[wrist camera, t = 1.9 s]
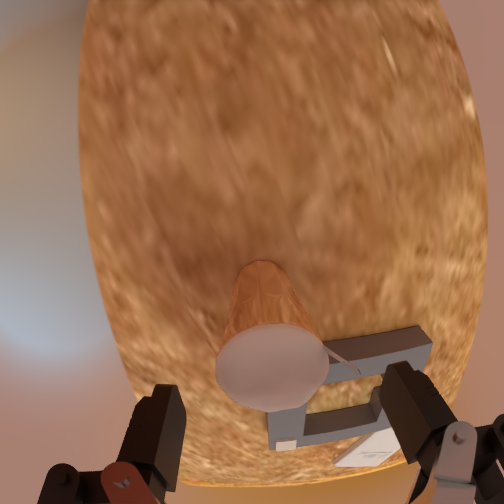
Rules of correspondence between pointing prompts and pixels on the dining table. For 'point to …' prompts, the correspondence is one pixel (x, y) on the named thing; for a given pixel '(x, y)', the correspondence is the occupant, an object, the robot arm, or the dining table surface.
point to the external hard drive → (369, 450)
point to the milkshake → (270, 344)
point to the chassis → (366, 360)
